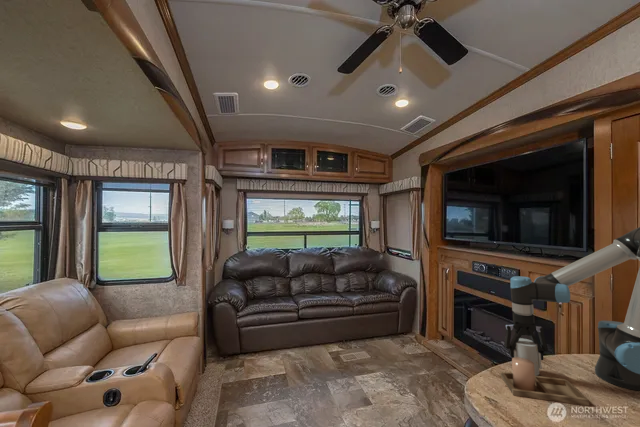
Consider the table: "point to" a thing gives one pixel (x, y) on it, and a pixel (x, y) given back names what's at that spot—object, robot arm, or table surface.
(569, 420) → the table surface
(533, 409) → the table surface
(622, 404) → the table surface
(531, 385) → the tan rounded cylinder
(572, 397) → the caddy
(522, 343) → the grey cylinder
